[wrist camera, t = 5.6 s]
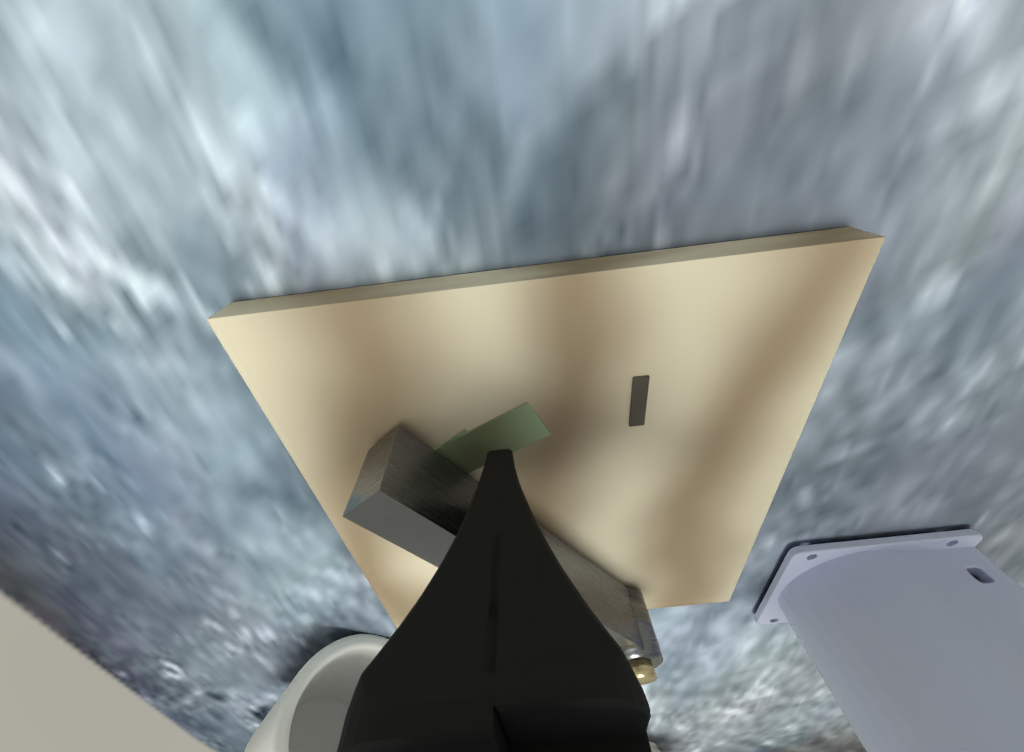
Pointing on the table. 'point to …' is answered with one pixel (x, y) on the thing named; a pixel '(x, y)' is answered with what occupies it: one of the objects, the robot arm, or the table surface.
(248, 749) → the mug
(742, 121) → the table surface
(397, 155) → the table surface
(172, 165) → the table surface
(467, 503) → the pointer
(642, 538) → the board
